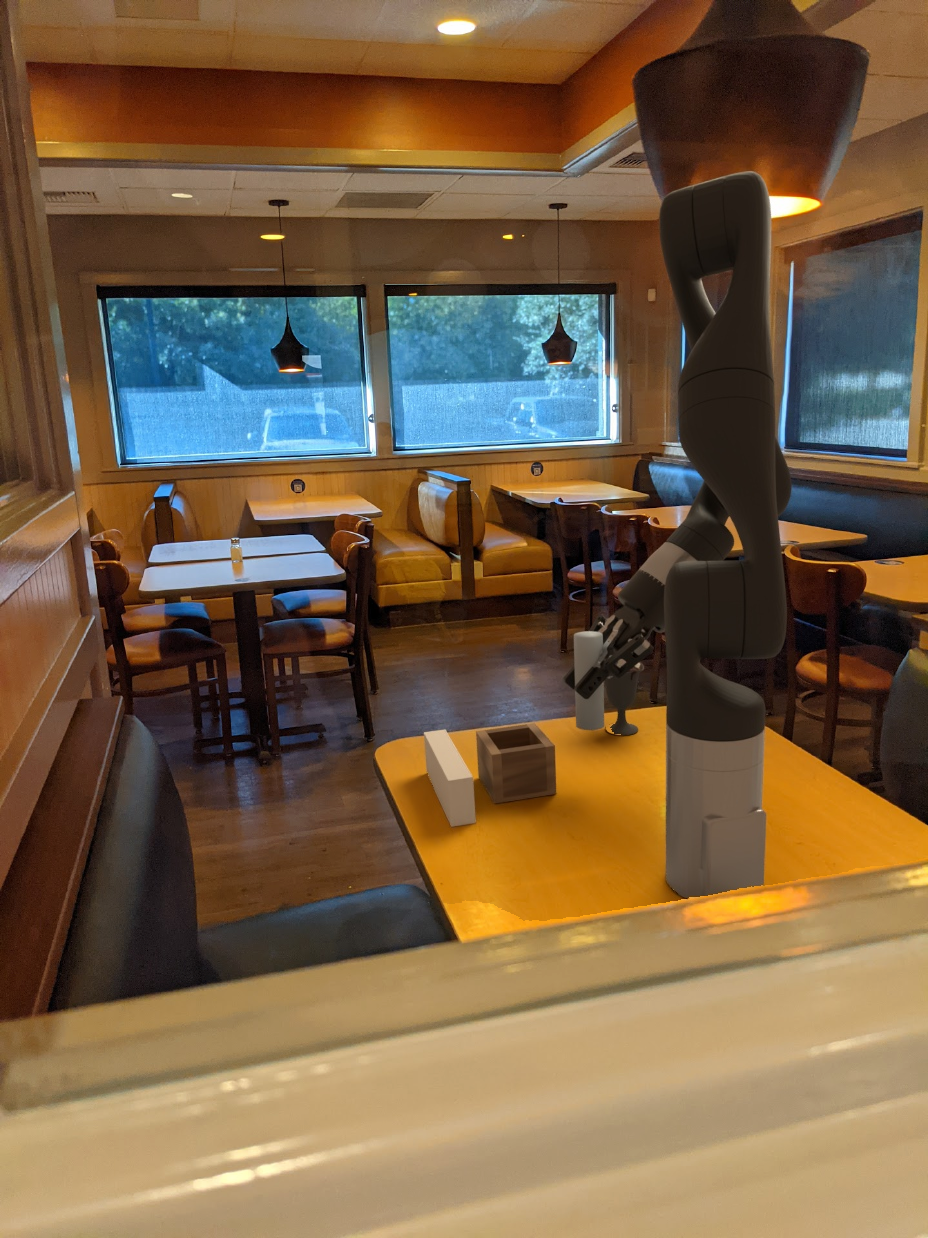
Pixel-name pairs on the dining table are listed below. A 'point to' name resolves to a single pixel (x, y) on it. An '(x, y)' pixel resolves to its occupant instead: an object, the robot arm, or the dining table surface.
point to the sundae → (623, 698)
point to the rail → (450, 778)
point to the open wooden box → (516, 762)
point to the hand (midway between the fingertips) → (574, 689)
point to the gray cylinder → (584, 659)
